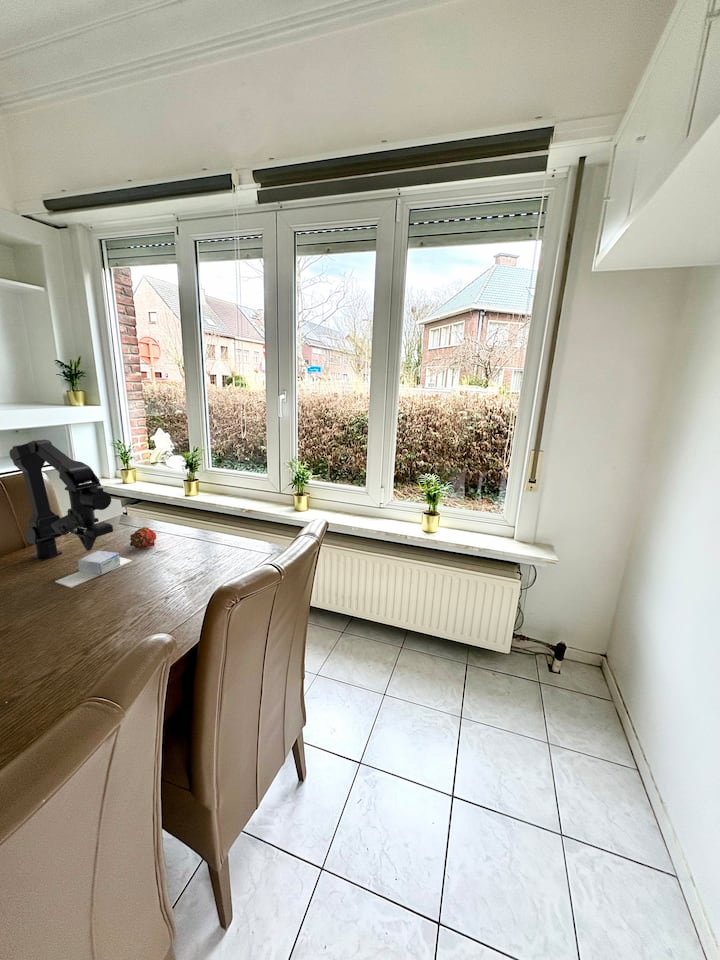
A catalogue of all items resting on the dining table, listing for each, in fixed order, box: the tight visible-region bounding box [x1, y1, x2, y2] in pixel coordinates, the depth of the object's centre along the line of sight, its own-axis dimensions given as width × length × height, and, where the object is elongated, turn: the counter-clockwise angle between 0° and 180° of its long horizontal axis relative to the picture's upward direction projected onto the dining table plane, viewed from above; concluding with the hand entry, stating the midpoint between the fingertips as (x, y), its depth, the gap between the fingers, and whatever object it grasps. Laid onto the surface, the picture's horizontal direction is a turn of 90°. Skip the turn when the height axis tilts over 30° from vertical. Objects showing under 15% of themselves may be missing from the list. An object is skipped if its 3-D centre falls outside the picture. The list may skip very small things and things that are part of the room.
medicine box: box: [77, 550, 121, 576], centre depth 125 cm, size 8×4×9 cm
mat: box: [54, 556, 133, 589], centre depth 125 cm, size 8×20×1 cm, turn 157°
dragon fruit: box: [129, 526, 157, 551], centre depth 143 cm, size 8×8×12 cm
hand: (88, 550), depth 124 cm, fingers closed
